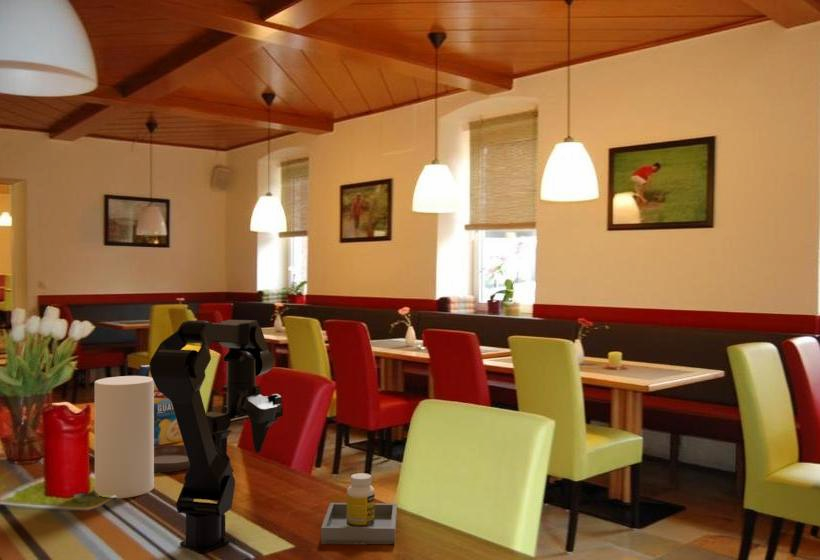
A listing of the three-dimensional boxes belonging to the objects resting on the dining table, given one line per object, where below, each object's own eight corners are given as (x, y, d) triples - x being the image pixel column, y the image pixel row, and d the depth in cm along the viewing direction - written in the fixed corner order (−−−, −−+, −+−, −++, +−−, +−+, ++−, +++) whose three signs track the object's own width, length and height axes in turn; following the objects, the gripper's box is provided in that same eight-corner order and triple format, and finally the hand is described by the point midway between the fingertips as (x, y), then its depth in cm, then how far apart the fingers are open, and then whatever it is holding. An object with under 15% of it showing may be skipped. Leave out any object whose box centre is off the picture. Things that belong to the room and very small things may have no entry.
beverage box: (139, 442, 202) (139, 365, 202) (175, 436, 210) (175, 362, 209) (149, 446, 197) (149, 368, 197) (186, 440, 205) (186, 365, 204)
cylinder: (147, 497, 155) (147, 384, 154) (87, 499, 153) (87, 385, 153) (159, 480, 167) (158, 375, 167) (103, 482, 166) (103, 376, 165)
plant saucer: (203, 453, 193) (203, 441, 192) (209, 470, 176) (209, 458, 176) (133, 459, 186) (133, 447, 186) (133, 478, 170) (133, 465, 170)
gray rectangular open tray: (394, 544, 130) (394, 528, 130) (321, 543, 130) (321, 527, 130) (396, 518, 143) (396, 503, 143) (330, 517, 144) (330, 502, 144)
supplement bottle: (370, 532, 134) (370, 480, 133) (343, 530, 135) (343, 479, 134) (377, 522, 139) (377, 472, 139) (350, 520, 140) (350, 471, 140)
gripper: (232, 392, 131) (232, 475, 132) (301, 379, 147) (301, 453, 147) (193, 386, 138) (193, 465, 138) (264, 374, 153) (263, 445, 154)
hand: (241, 457), depth 144 cm, fingers open, 9 cm apart
